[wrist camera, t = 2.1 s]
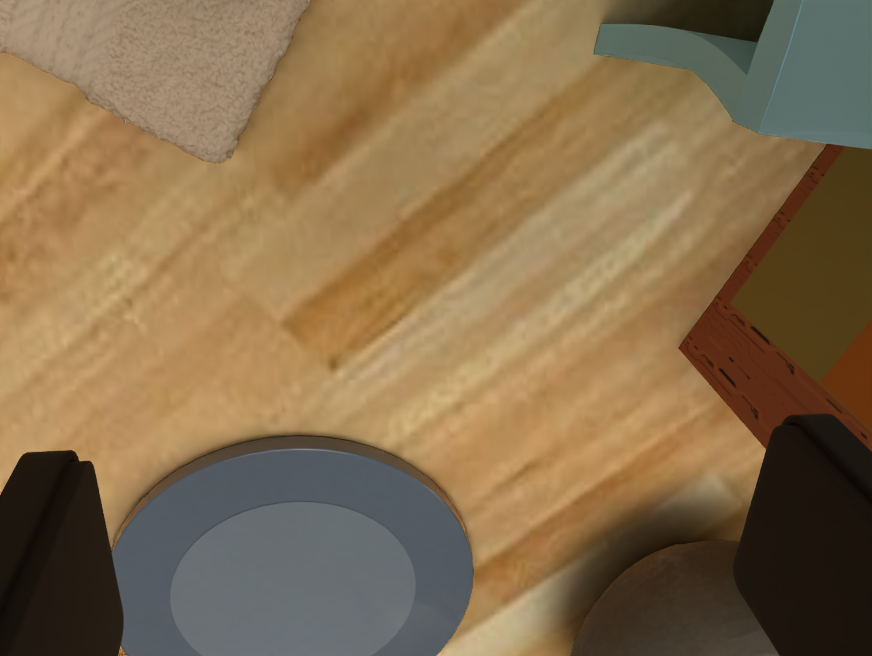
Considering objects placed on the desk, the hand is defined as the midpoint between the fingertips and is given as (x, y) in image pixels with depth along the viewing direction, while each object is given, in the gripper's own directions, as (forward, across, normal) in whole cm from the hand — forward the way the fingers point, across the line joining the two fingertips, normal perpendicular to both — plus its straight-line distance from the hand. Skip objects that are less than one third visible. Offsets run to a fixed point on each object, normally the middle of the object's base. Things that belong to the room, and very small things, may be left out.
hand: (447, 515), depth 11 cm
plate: (+22, +3, +23) cm, 32 cm away
